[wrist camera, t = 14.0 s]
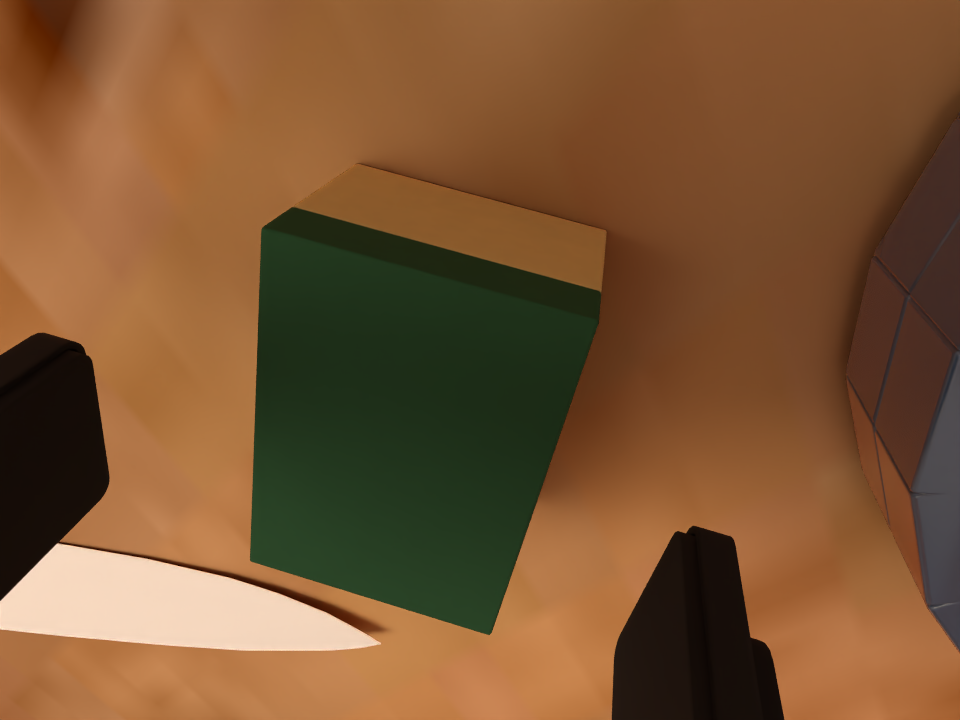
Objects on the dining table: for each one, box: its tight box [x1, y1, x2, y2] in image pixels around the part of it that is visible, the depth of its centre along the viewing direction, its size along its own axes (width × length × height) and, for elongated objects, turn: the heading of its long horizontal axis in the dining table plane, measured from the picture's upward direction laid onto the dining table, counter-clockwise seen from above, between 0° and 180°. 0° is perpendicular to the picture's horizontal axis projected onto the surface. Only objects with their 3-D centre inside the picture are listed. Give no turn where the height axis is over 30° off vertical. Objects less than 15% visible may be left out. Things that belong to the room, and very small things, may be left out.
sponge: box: [250, 164, 607, 635], centre depth 14 cm, size 8×6×4 cm
